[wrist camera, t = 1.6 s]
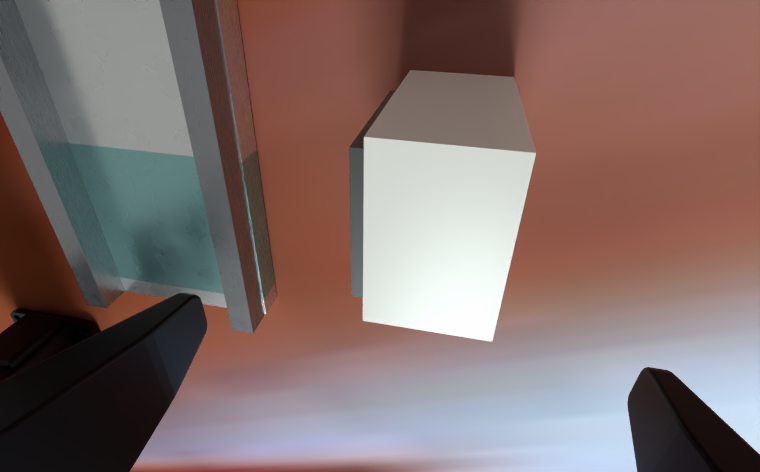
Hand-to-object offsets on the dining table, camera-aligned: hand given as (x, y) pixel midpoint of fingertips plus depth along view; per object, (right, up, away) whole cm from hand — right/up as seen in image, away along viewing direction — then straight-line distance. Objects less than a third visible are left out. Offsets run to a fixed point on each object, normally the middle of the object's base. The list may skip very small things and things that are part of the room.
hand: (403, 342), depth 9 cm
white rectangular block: (+3, +6, +10) cm, 12 cm away
